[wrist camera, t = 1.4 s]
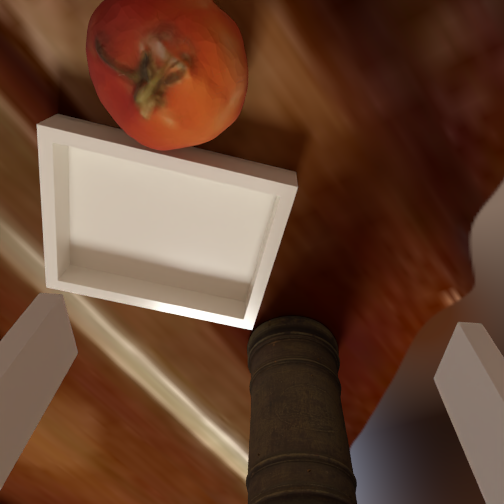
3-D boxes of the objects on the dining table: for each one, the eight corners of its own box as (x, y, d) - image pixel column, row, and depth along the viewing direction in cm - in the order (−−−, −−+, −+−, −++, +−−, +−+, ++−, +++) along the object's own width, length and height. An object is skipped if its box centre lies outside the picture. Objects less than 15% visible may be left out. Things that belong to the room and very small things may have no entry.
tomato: (275, 95, 27) (275, 125, 21) (164, 152, 30) (133, 195, 23) (208, -55, 23) (181, -79, 16) (86, 26, 26) (19, 34, 19)
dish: (62, 267, 36) (46, 287, 34) (57, 113, 29) (36, 124, 26) (253, 308, 38) (252, 330, 35) (295, 171, 30) (298, 187, 28)
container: (236, 323, 39) (212, 530, 24) (327, 305, 37) (365, 515, 22) (262, 383, 43) (256, 589, 28) (344, 369, 42) (385, 581, 26)
